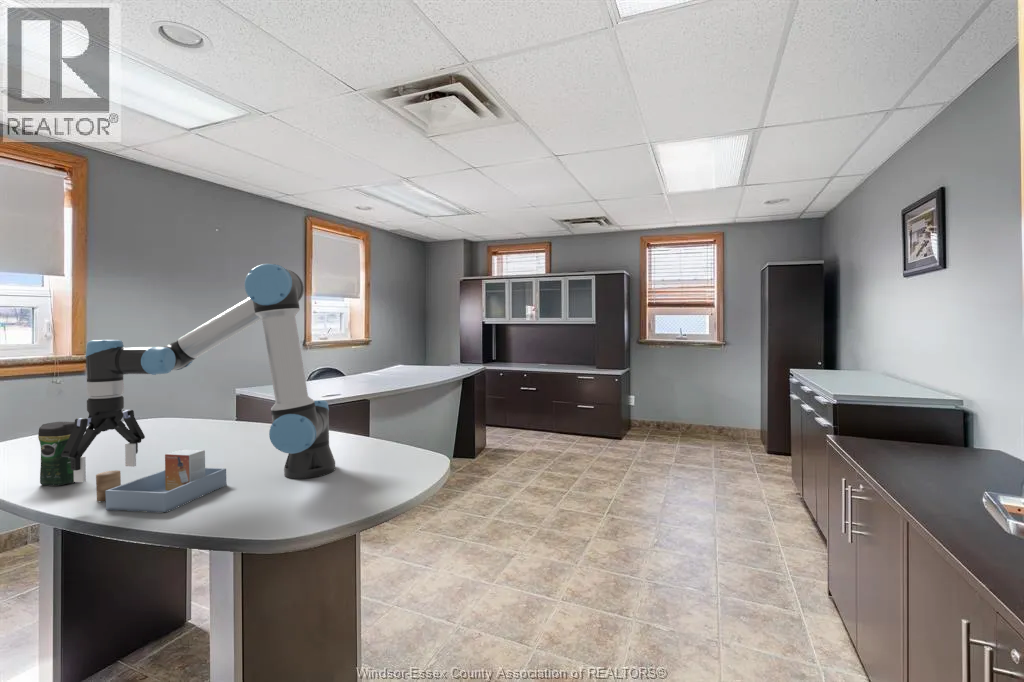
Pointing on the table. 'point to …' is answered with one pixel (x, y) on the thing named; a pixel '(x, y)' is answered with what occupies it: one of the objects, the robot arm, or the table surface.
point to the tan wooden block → (106, 483)
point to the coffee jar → (55, 454)
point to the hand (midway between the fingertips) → (106, 473)
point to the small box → (183, 467)
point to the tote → (162, 492)
